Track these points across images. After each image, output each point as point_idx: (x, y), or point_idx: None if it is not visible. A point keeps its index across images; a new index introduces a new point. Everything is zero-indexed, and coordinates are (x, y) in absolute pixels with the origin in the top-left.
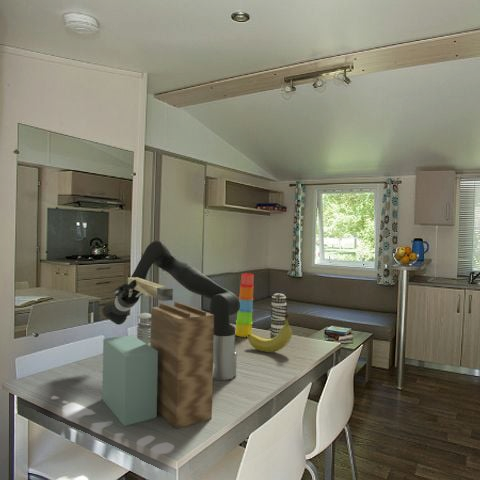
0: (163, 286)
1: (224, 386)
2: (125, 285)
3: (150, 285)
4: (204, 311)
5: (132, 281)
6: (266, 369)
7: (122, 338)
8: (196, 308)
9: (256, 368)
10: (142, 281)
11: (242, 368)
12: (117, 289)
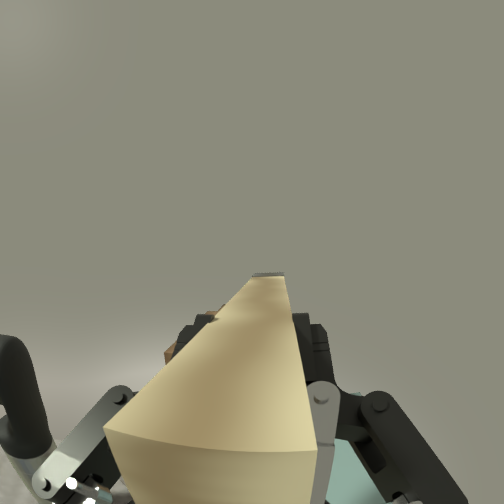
0: (255, 278)
1: (111, 493)
2: (369, 397)
3: (284, 281)
4: (224, 305)
5: (319, 326)
6: (9, 462)
7: (351, 489)
8: (216, 312)
9: (9, 474)
10: (269, 303)
11: (15, 491)
12: (440, 478)
